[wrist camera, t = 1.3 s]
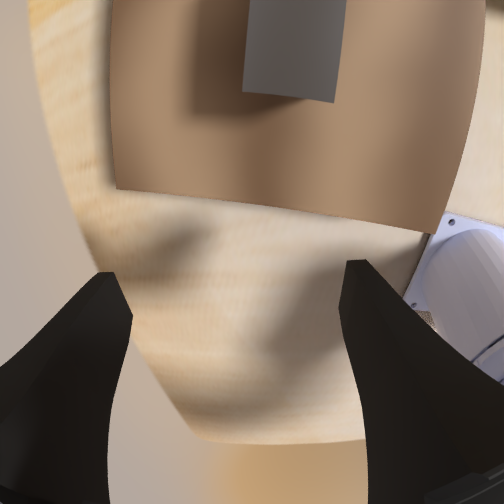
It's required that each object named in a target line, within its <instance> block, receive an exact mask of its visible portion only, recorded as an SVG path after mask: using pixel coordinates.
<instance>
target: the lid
mask: <svg viewBox="0 0 504 504" xmlns="http://www.w3.org/2000/svg"><path fill="white" fill-rule="evenodd" d="M485 8H486V0H113V7H112V20H111V37H110V116H111V135H112V149H113V161H114V171H115V181H116V189H120V190H132V191H143V192H154V193H164V194H174V195H183V196H193V197H201V198H210V199H219V200H227V201H235V202H242V203H250V204H258V205H265V206H272V207H279V208H286V209H293V210H299V211H306V212H312V213H319V214H325V215H331V216H337V217H343V218H349V219H355V220H361V221H366V222H372V223H377V224H383V225H388V226H394V227H399V228H404V229H409V230H414V231H419V232H424V233H429V234H434V235H435V234H436V232H437V229H438V226H439V224H440V221H441V219H442V216H443V213H444V210H445V208H446V205H447V202H448V199H449V196H450V193H451V190H452V187H453V184H454V181H455V178H456V175H457V171H458V168H459V165H460V161H461V158H462V154H463V150H464V147H465V143H466V139H467V135H468V131H469V127H470V122H471V118H472V113H473V108H474V103H475V98H476V93H477V87H478V81H479V75H480V68H481V60H482V51H483V41H484V29H485Z"/></svg>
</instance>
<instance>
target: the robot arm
mask: <svg viewBox="0 0 504 504" xmlns="http://www.w3.org/2000/svg"><path fill="white" fill-rule="evenodd" d="M451 219H453V221H452V222H451V223H448V222H449V220H451ZM412 303H414V304H412ZM414 310H419V311H429V312H430V314H431V316H432V319H433V322H434V325H435V328H436V331H437V333H436V332H435V331H434V330H433V329H432V328H431V327H430V326H429V325H428V324H427V323H426V322H425V321H424V320H423V319H422V318H421V317H420V316H419V315H418V314H417V313H416V312H415V311H414ZM339 314H340V320H341V326H342V332H343V337H344V341H345V345H346V348H347V352H348V355H349V359H350V362H351V366H352V370H353V373H354V377H355V381H356V384H357V388H358V392H359V396H360V401H361V405H362V411H363V419H364V427H365V436H366V447H367V460H368V461H367V462H368V504H504V227H501V226H498V225H495V224H491V223H488V222H484V221H481V220H477V219H473V218H470V217H466V216H462V215H458V214H454V213H450V212H446V211H444V213H443V216H442V219H441V221H440V224H439V226H438V229H437V232H436V234H435V235H434V234H431V235H430V238H429V240H428V243H427V245H426V248H425V250H424V252H423V255H422V257H421V259H420V262H419V264H418V266H417V269H416V271H415V273H414V275H413V277H412V280H411V282H410V284H409V286H408V288H407V290H406V292H405V294H404V296H403V298H401V297H400V295H399V294H398V293H397V292H396V291H395V290H394V289H393V288H392V287H391V286H390V285H389V284H388V283H387V281H386V280H385V279H384V278H383V277H382V276H381V275H380V274H379V273H378V272H377V271H376V270H375V268H374V267H373V266H372V265H371V264H370V263H369V262H368V261H367V260H366V259H365V260H349V261H347V263H346V269H345V275H344V281H343V286H342V292H341V297H340V302H339ZM132 319H133V314H132V312H131V310H130V308H129V306H128V304H127V301H126V299H125V297H124V295H123V293H122V290H121V288H120V286H119V283H118V281H117V279H116V276H115V274H114V272H100V273H97V274H96V275H95V276H94V277H92V278H91V279H90V280H89V281H88V282H87V283H86V284H85V285H84V286H83V287H82V288H81V289H80V290H79V291H78V292H77V293H76V294H75V295H74V296H73V297H72V298H71V299H70V300H69V301H68V302H67V303H66V304H65V305H64V307H63V308H62V309H61V310H60V311H59V312H58V313H57V314H56V315H55V316H54V317H53V318H52V319H51V320H50V321H49V322H48V323H47V324H46V325H45V326H44V327H43V328H42V329H41V330H40V331H39V332H38V333H37V334H36V335H35V336H34V337H33V338H32V339H31V340H30V341H29V342H28V343H27V344H26V345H25V346H24V347H23V348H22V349H21V350H20V351H19V352H17V353H16V354H15V355H14V356H13V357H12V358H11V359H10V360H9V361H7V362H6V363H5V364H3V365H2V366H1V367H0V504H110V499H109V488H108V469H107V453H108V432H109V423H110V415H111V408H112V403H113V398H114V394H115V391H116V387H117V383H118V379H119V376H120V372H121V368H122V365H123V361H124V357H125V354H126V351H127V347H128V343H129V338H130V332H131V325H132Z"/></svg>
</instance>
